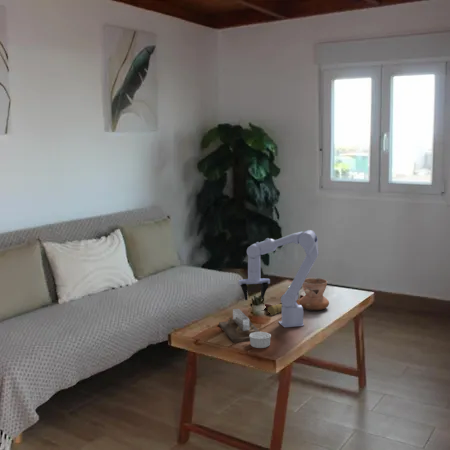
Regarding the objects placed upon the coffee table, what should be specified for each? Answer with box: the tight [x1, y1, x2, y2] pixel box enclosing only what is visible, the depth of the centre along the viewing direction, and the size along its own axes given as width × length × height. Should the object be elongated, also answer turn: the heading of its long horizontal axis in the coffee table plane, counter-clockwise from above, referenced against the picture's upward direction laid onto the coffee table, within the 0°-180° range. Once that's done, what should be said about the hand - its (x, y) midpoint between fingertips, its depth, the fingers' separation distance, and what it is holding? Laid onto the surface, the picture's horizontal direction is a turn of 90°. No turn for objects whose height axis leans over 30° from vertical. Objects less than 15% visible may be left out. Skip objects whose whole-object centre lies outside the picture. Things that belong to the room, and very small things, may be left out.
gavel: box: [249, 302, 282, 316], centre depth 300 cm, size 21×5×10 cm
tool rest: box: [218, 317, 261, 343], centre depth 265 cm, size 14×24×4 cm, turn 14°
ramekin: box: [249, 331, 272, 349], centre depth 249 cm, size 9×9×4 cm
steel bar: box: [232, 308, 250, 331], centre depth 265 cm, size 16×3×5 cm, turn 15°
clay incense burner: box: [298, 277, 330, 312], centre depth 299 cm, size 18×14×14 cm
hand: (254, 299), depth 279 cm, fingers open, 7 cm apart
